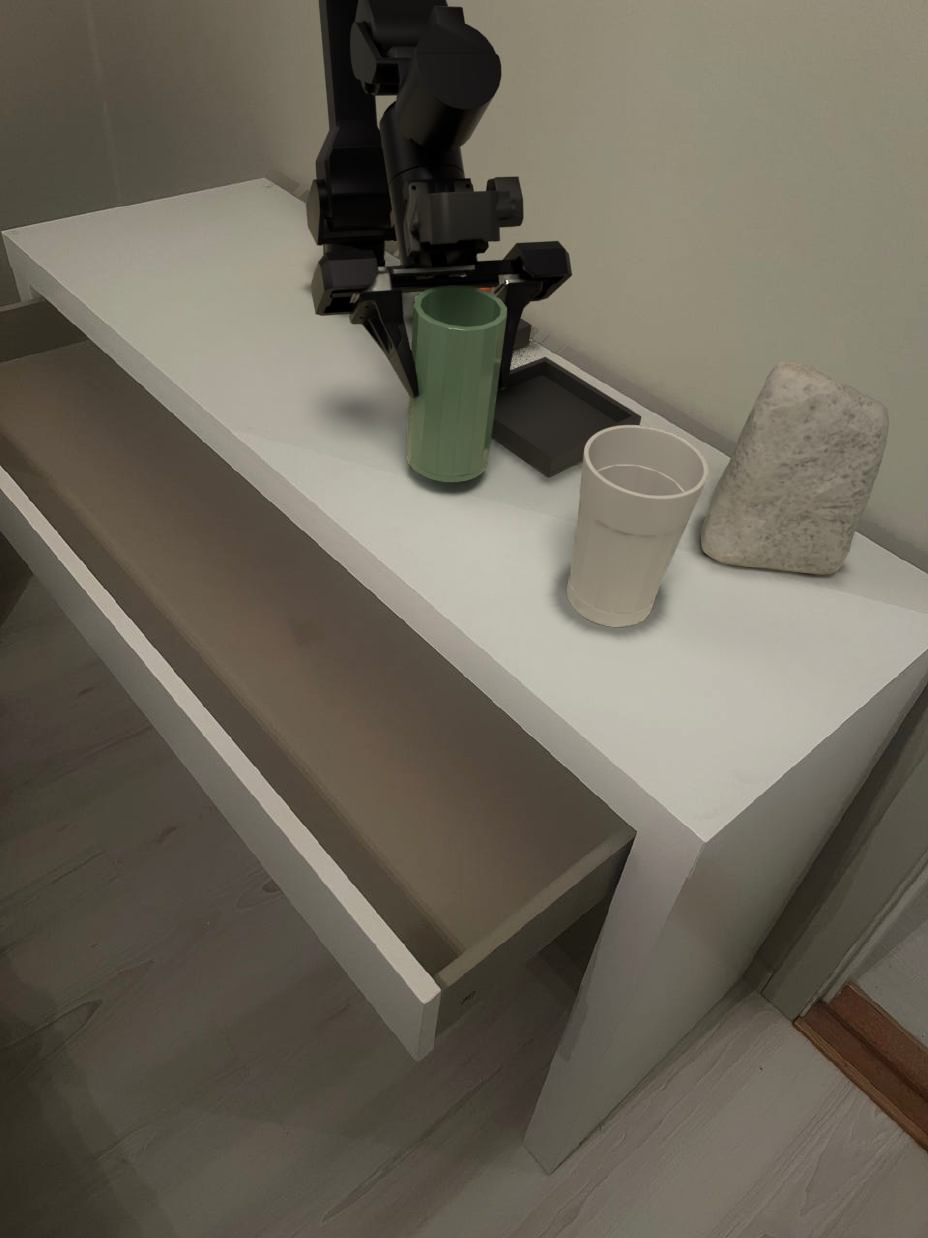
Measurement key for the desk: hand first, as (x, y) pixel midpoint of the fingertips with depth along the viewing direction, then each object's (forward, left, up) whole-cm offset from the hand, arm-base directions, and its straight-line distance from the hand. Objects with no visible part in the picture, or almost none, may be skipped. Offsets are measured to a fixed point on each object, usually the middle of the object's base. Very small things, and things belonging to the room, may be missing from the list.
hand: (459, 393), depth 69 cm
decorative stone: (+21, +15, -9) cm, 27 cm away
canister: (-1, +1, -7) cm, 7 cm away
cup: (+17, +1, -9) cm, 19 cm away
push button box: (-18, +18, -9) cm, 27 cm away
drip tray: (-2, +13, -9) cm, 16 cm away
